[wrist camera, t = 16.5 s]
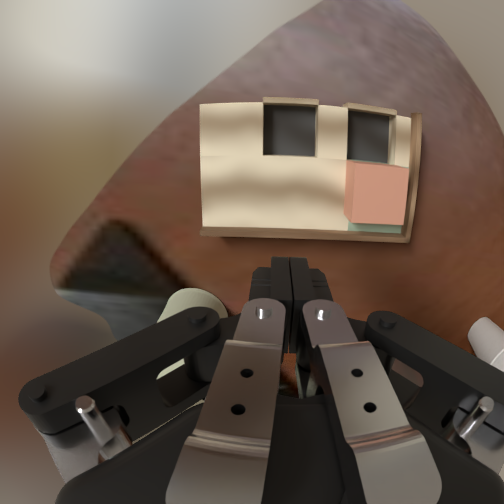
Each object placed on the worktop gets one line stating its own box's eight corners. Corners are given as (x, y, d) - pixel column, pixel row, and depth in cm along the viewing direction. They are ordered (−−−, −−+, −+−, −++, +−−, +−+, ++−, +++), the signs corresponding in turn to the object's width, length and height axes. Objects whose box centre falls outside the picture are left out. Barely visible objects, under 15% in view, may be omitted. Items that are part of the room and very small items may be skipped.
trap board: (396, 232, 33) (409, 243, 30) (207, 225, 35) (199, 235, 31) (406, 115, 28) (421, 113, 24) (204, 101, 29) (196, 97, 26)
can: (178, 341, 43) (155, 398, 32) (157, 292, 39) (122, 344, 28) (235, 336, 41) (223, 398, 30) (218, 283, 38) (197, 340, 27)
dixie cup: (459, 353, 41) (481, 388, 32) (464, 320, 38) (492, 356, 29) (490, 337, 39) (514, 369, 30) (497, 304, 36) (526, 335, 27)
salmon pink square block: (391, 216, 30) (403, 225, 27) (343, 213, 31) (351, 222, 28) (396, 165, 28) (409, 168, 25) (346, 160, 29) (355, 163, 25)
